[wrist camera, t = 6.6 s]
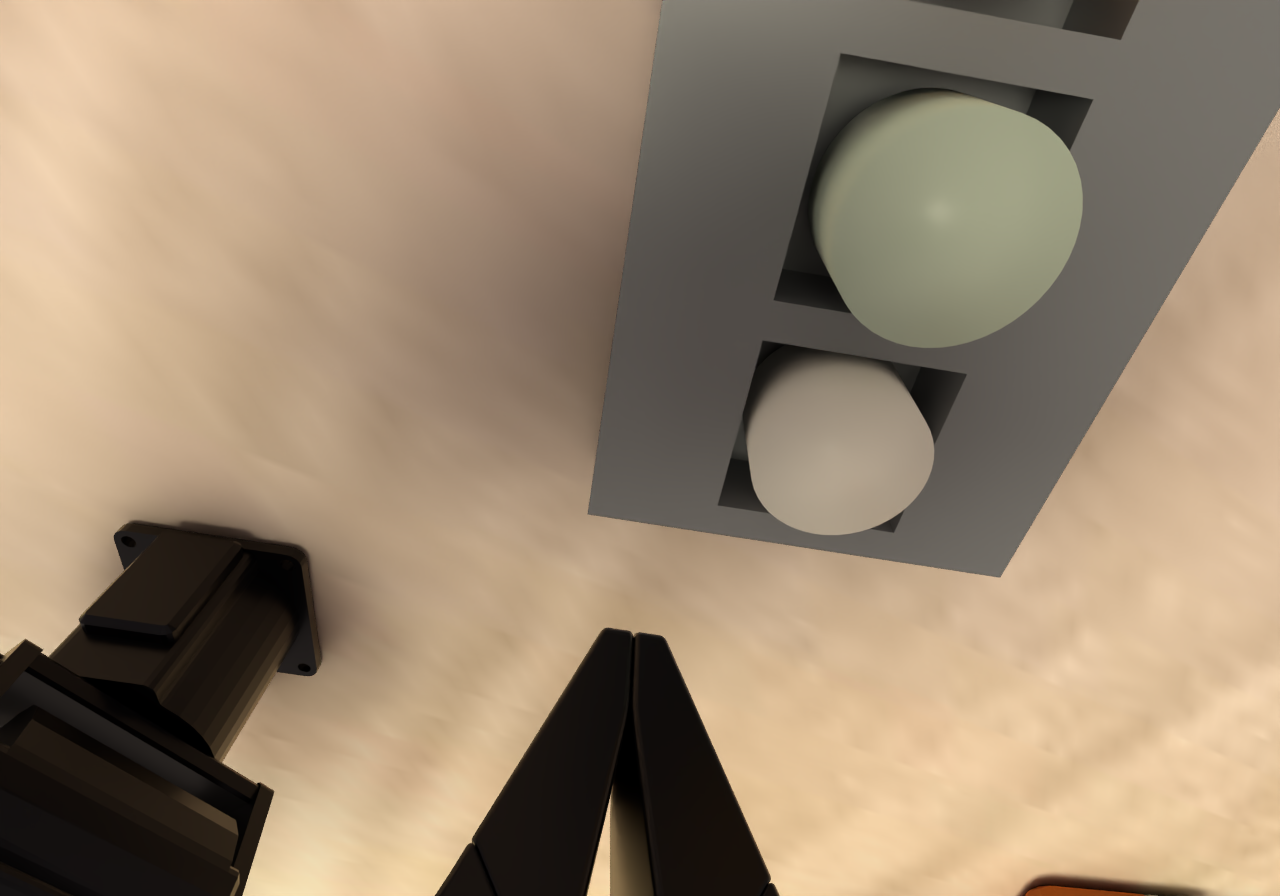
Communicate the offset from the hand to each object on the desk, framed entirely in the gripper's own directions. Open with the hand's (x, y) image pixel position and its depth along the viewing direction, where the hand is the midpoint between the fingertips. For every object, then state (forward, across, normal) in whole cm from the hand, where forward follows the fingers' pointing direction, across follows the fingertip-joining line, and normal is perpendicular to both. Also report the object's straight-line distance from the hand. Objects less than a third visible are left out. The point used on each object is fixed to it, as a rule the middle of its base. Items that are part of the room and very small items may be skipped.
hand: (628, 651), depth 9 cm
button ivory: (+11, -5, +2) cm, 12 cm away
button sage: (+10, -5, -4) cm, 12 cm away
